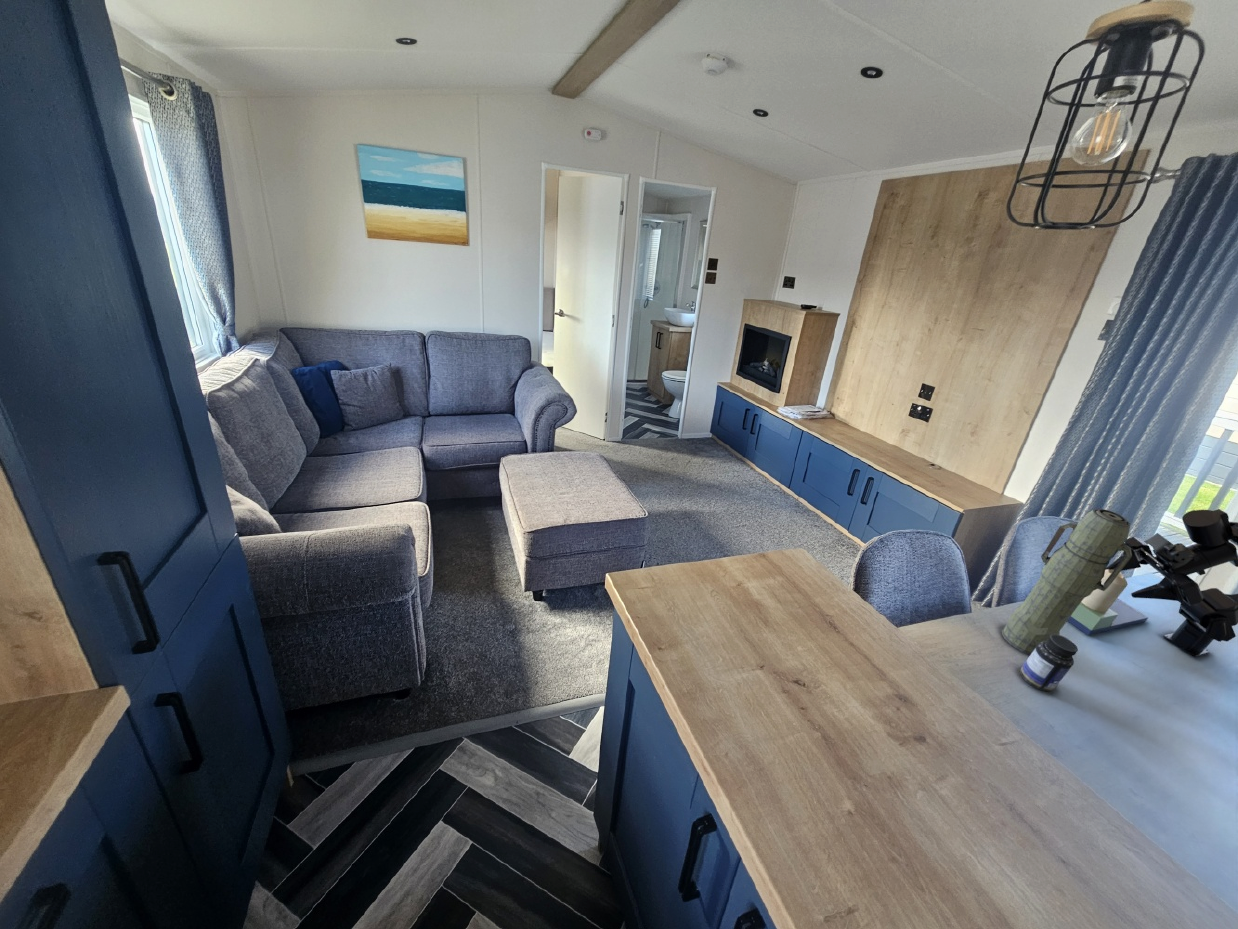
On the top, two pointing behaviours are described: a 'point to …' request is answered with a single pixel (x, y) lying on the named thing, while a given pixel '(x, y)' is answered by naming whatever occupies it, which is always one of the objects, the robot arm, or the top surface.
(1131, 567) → the robot arm
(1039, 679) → the pill bottle
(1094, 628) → the stand
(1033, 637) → the thermos
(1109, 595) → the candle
